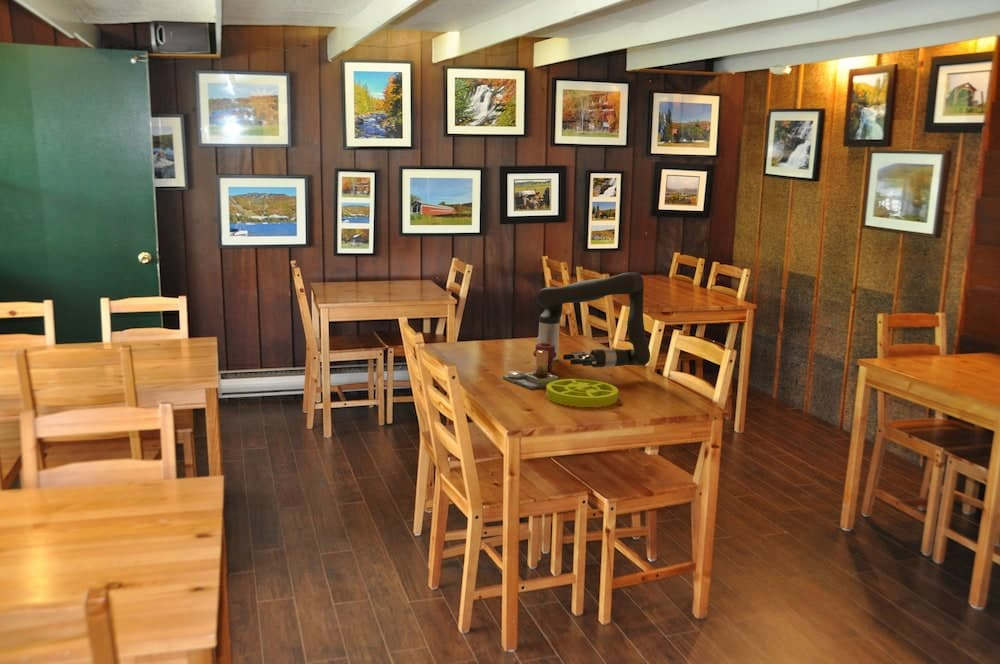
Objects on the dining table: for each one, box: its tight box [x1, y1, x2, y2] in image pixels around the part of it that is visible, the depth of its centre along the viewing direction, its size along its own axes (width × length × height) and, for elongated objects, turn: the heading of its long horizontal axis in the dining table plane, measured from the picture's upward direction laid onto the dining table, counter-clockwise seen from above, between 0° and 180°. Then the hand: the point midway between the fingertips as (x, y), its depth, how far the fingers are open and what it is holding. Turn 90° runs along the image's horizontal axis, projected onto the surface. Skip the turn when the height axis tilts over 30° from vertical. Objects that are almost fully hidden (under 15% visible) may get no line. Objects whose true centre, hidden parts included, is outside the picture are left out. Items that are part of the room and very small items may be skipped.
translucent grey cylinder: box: [534, 350, 548, 379], centre depth 366 cm, size 6×6×12 cm
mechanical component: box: [532, 342, 556, 372], centre depth 387 cm, size 12×10×10 cm
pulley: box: [545, 378, 619, 408], centre depth 347 cm, size 28×28×5 cm
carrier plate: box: [502, 370, 559, 390], centre depth 368 cm, size 20×16×3 cm
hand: (566, 359), depth 369 cm, fingers open, 8 cm apart
